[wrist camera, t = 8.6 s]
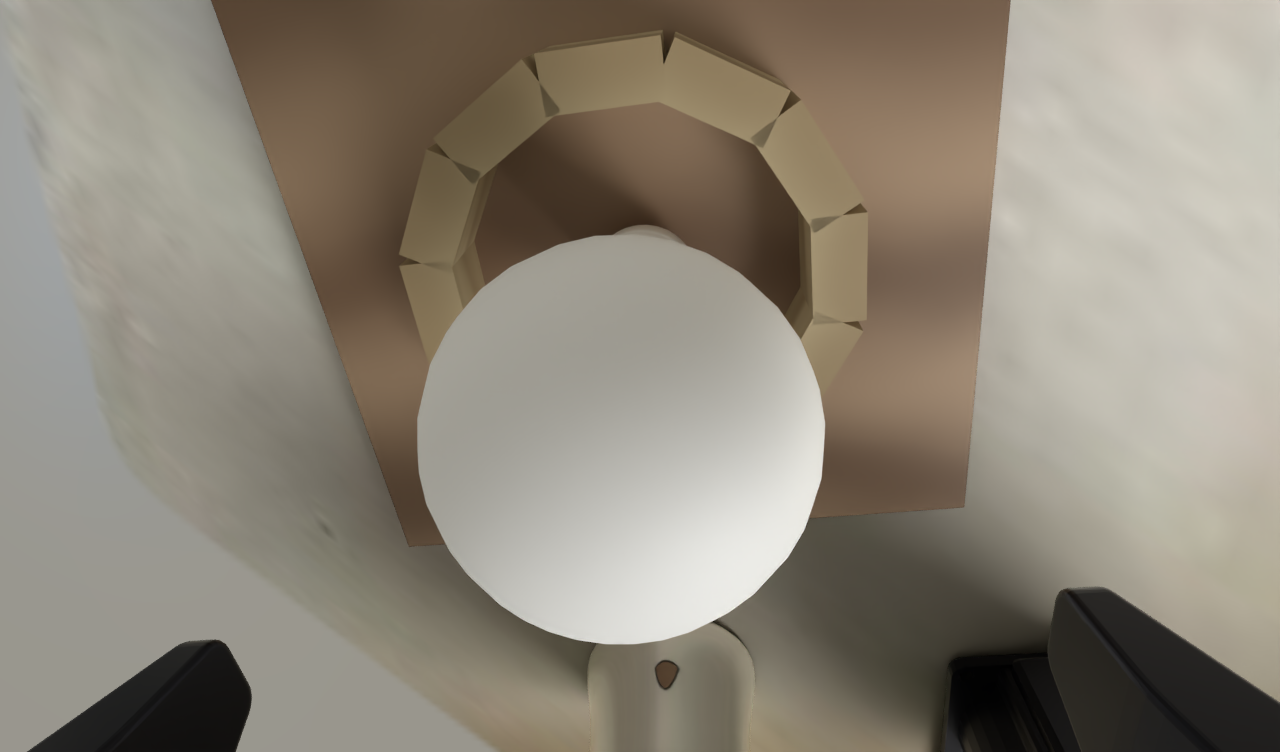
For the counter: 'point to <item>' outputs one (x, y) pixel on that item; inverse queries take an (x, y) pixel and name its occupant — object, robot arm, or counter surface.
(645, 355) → the lightbulb
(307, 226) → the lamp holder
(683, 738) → the beer glass
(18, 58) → the counter surface
